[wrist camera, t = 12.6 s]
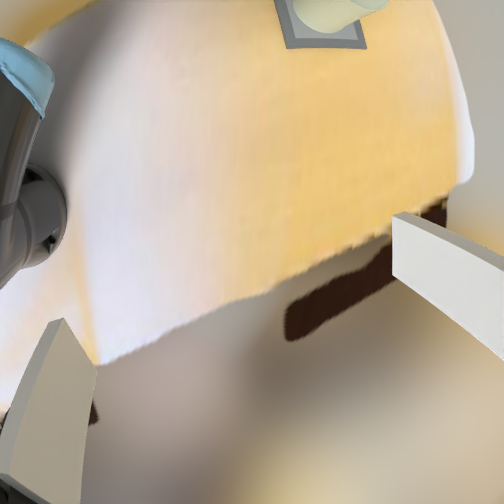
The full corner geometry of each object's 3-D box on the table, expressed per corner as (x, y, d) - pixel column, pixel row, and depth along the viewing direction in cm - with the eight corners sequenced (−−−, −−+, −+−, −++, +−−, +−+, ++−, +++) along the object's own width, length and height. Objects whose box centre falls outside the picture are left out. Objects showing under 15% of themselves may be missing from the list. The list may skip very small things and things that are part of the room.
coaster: (286, 48, 35) (288, 47, 34) (266, -25, 29) (267, -27, 28) (365, 49, 37) (367, 48, 36) (344, -19, 31) (346, -20, 30)
